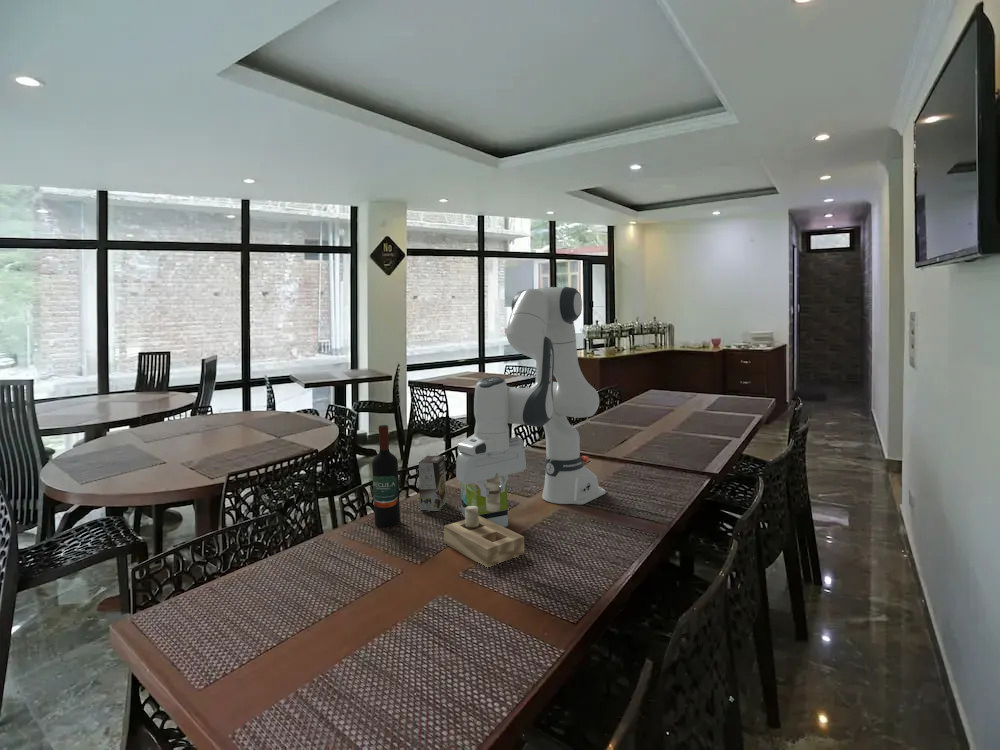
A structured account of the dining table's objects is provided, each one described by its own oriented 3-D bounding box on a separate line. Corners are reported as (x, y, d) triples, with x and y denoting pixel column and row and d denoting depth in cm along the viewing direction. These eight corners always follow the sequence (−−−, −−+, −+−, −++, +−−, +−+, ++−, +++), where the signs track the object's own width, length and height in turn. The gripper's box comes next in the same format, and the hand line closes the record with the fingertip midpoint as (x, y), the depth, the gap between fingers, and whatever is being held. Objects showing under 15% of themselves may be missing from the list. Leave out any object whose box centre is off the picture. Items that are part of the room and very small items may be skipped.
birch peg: (494, 505, 153) (493, 468, 152) (502, 509, 151) (502, 471, 149) (483, 509, 151) (482, 471, 150) (491, 512, 148) (491, 474, 147)
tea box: (460, 515, 182) (459, 469, 180) (490, 510, 185) (489, 465, 184) (477, 532, 168) (475, 483, 166) (509, 527, 172) (508, 478, 170)
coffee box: (438, 512, 185) (437, 462, 183) (419, 511, 186) (417, 462, 184) (447, 502, 194) (445, 455, 192) (428, 501, 195) (426, 454, 193)
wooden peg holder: (479, 532, 168) (478, 498, 167) (524, 554, 152) (523, 518, 151) (444, 543, 161) (443, 508, 160) (487, 568, 145) (486, 529, 144)
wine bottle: (404, 519, 179) (400, 423, 175) (392, 529, 172) (388, 429, 168) (383, 517, 181) (378, 422, 178) (370, 526, 174) (365, 427, 171)
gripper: (515, 433, 158) (516, 483, 159) (451, 445, 145) (453, 499, 147) (530, 437, 153) (531, 488, 154) (466, 450, 140) (467, 505, 142)
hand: (492, 493), depth 150 cm, fingers closed on birch peg, 4 cm apart
